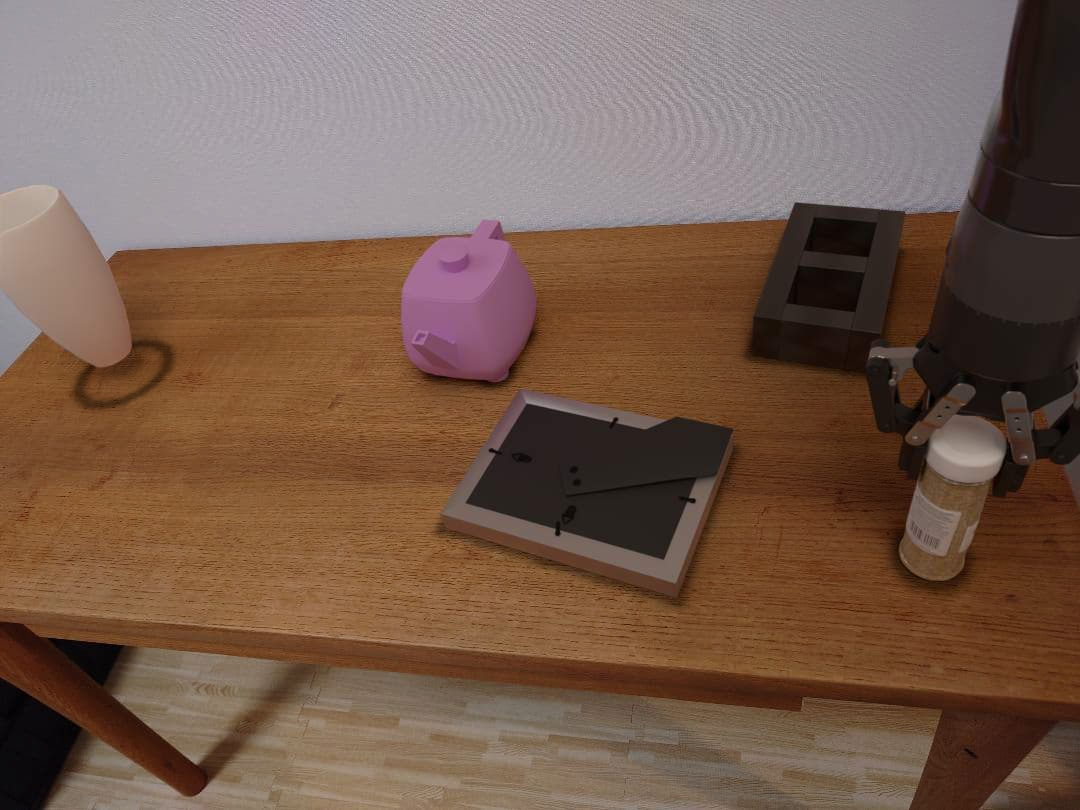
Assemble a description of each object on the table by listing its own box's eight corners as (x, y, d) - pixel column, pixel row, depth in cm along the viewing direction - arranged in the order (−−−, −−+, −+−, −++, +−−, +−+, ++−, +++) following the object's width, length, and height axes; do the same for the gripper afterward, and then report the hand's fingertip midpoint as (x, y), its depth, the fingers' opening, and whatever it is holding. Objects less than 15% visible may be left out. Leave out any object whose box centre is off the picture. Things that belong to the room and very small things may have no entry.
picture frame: (732, 450, 71) (523, 403, 79) (733, 428, 69) (518, 382, 77) (677, 598, 61) (445, 528, 69) (675, 578, 59) (437, 508, 67)
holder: (898, 251, 86) (905, 211, 83) (873, 374, 74) (880, 333, 71) (791, 240, 91) (794, 202, 87) (751, 355, 79) (753, 316, 75)
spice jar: (976, 571, 59) (1025, 451, 50) (920, 591, 58) (959, 473, 49) (937, 524, 62) (976, 403, 53) (884, 543, 62) (914, 424, 52)
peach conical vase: (60, 393, 91) (-69, 233, 76) (127, 336, 98) (20, 177, 83) (122, 413, 87) (-2, 247, 72) (188, 351, 93) (86, 187, 78)
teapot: (461, 290, 94) (434, 194, 85) (562, 299, 90) (545, 199, 81) (386, 411, 81) (346, 313, 72) (500, 428, 77) (472, 326, 68)
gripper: (868, 298, 42) (834, 498, 54) (1197, 338, 37) (1079, 550, 49) (885, 220, 47) (851, 420, 59) (1181, 245, 42) (1077, 460, 53)
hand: (955, 478), depth 54 cm, fingers closed on spice jar, 4 cm apart
